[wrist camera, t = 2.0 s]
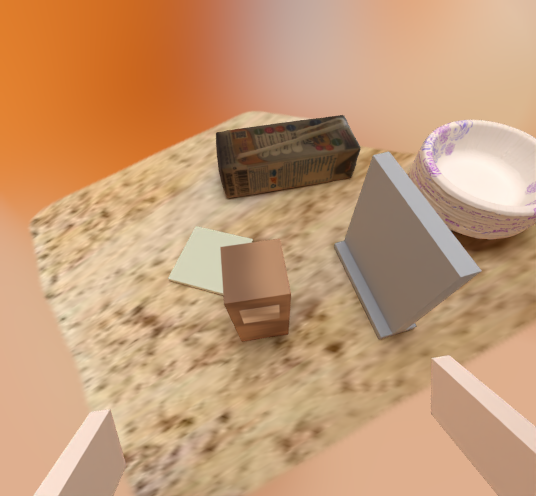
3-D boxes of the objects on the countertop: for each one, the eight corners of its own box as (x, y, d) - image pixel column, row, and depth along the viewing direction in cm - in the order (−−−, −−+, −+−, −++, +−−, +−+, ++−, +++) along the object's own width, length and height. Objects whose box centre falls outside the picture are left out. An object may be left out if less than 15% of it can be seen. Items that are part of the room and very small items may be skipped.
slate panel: (333, 246, 36) (359, 158, 24) (363, 238, 36) (402, 148, 25) (378, 339, 30) (443, 282, 18) (413, 328, 30) (498, 265, 18)
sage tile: (253, 241, 37) (252, 239, 36) (231, 297, 33) (230, 295, 32) (197, 228, 38) (195, 226, 38) (169, 280, 34) (168, 278, 34)
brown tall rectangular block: (280, 291, 33) (279, 238, 24) (288, 334, 30) (291, 294, 21) (237, 297, 33) (220, 247, 24) (241, 341, 30) (223, 304, 21)
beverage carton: (354, 181, 42) (365, 143, 37) (225, 203, 41) (216, 168, 35) (337, 146, 46) (344, 108, 41) (220, 165, 45) (211, 128, 40)
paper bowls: (527, 267, 34) (589, 227, 27) (393, 235, 37) (418, 192, 30) (514, 177, 41) (560, 129, 34) (404, 158, 44) (426, 109, 37)
